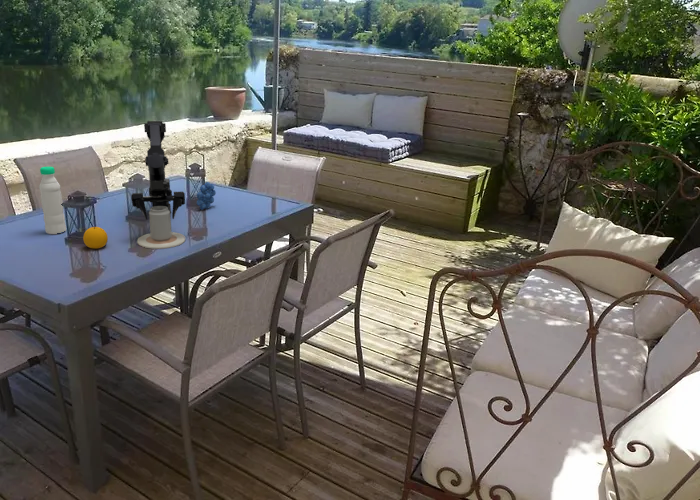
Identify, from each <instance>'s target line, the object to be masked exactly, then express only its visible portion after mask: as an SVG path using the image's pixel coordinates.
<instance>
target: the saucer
mask: <svg viewBox="0 0 700 500" xmlns="http://www.w3.org/2000/svg"><path fill="white" fill-rule="evenodd" d="M171 232H172V237H171V238H170V239H168V240H166V241H155V240H153V239H152V238H151V233H147V234H143V235H141V236H140V237H138V238H137V242H136V243H137V245H138V246H140V247H141V246H142V248H144V247H145V249H152V250H154V249H155V250H161V249H163V250H164V249H172V248H175V247H178V246H180V245H183V244H184V243H185V242H186V236H185V235H184V234H182V233H179V232H174V231H171ZM171 247H172V248H171Z"/></svg>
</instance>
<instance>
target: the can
mask: <svg viewBox="0 0 700 500" xmlns="http://www.w3.org/2000/svg"><path fill="white" fill-rule="evenodd" d="M148 219H149V229H150V230H149V232H150V233H151V238H152V239H153V240H155V241H166V240H168V239H170V238H171V237H172V232H173V231H172V222H171V213H170V211H169V210H168V207H166V206H154V207H150V210H149V211H148Z"/></svg>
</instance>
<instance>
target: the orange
mask: <svg viewBox="0 0 700 500" xmlns="http://www.w3.org/2000/svg"><path fill="white" fill-rule="evenodd" d="M82 238H83V243H84V245H85V246H86V247H88V248H90V249H95V250H97V249H102V248H103V247H104V246H105V245H107V243H108V238H109V236H108V233H107V232H106V230H105V229H103V228H102V227H99V226H91V227H89V228H88V229H86V230H85V232H84V233H83V237H82Z"/></svg>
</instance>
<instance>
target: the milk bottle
mask: <svg viewBox="0 0 700 500" xmlns="http://www.w3.org/2000/svg"><path fill="white" fill-rule="evenodd" d="M39 172H40V175H41V176H42V177H41V180H40V183H39V185H38V189H39V192H40V202H41V207H42V213H43V221H44V230H45V233H46V234H48V235H58V234H57V233H61V232H64V231H65V232H66V231H67V225H66V222H65V220H66V217H65V213H64V205H63V206H62V205H61V204H62V203H63V195H62V192H61V184H60V183H59V181H58V180H57V177H55V172H56V170H55V168H54V166H42V167H40V168H39ZM65 232H64V233H65ZM61 234H62V233H61Z"/></svg>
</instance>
